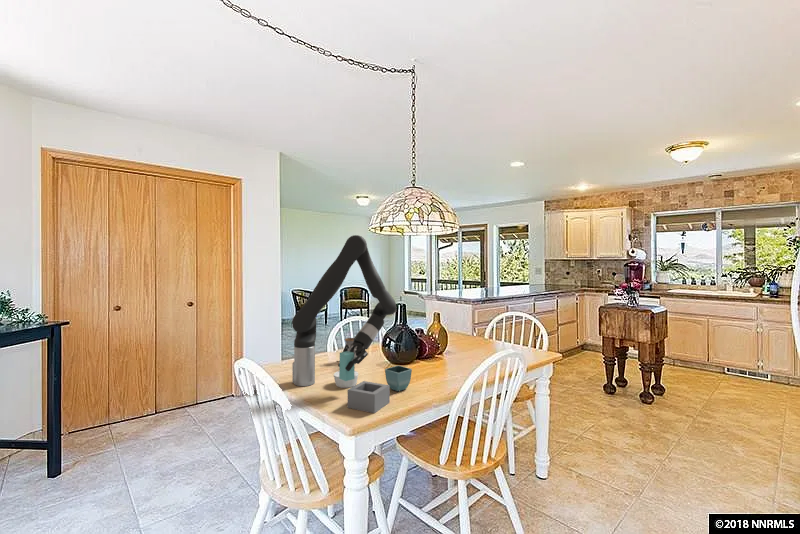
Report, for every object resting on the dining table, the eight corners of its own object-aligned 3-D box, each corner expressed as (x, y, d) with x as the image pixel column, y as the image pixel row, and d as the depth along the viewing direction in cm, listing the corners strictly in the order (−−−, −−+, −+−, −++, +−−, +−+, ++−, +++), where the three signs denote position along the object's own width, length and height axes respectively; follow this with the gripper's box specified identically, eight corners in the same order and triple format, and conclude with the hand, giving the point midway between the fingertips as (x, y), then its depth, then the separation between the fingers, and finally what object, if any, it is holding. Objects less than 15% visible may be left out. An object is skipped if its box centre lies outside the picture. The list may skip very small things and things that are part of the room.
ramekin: (334, 389, 171) (334, 377, 171) (332, 382, 182) (332, 370, 182) (360, 387, 174) (360, 376, 174) (356, 380, 185) (356, 369, 185)
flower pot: (384, 389, 172) (384, 368, 172) (398, 384, 178) (398, 365, 178) (397, 394, 166) (398, 373, 166) (412, 389, 172) (412, 369, 172)
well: (347, 407, 150) (347, 389, 150) (363, 397, 161) (363, 381, 161) (374, 413, 145) (374, 394, 145) (389, 402, 156) (389, 385, 156)
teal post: (339, 378, 165) (339, 352, 164) (347, 376, 168) (348, 351, 168) (345, 381, 162) (346, 354, 161) (354, 378, 165) (354, 353, 164)
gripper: (351, 328, 175) (328, 359, 166) (372, 333, 164) (348, 367, 156) (360, 338, 178) (338, 369, 170) (381, 344, 168) (358, 377, 160)
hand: (343, 368), depth 163 cm, fingers closed on teal post, 4 cm apart
